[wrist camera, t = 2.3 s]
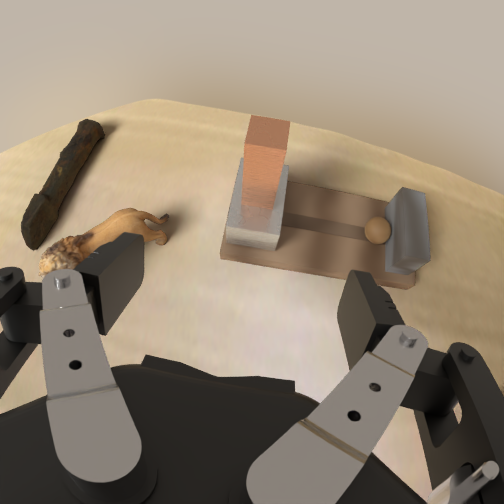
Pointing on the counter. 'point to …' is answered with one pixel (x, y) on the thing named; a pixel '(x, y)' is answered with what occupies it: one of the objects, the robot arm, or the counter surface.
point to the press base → (344, 236)
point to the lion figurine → (99, 239)
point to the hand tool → (59, 184)
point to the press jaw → (260, 186)
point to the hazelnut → (377, 230)
